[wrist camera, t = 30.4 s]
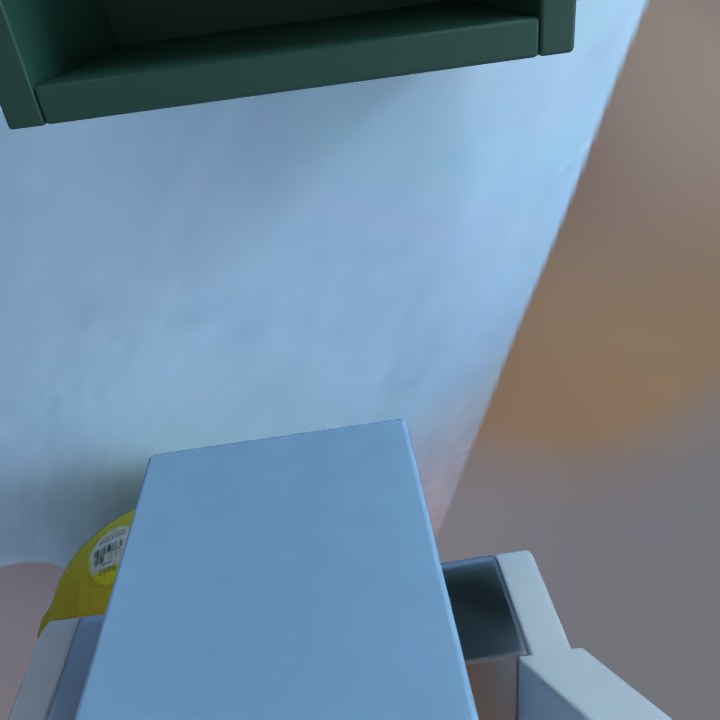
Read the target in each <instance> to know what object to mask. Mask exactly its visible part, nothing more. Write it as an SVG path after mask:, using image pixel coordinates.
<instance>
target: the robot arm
mask: <svg viewBox="0 0 720 720" xmlns="http://www.w3.org/2000/svg"><path fill="white" fill-rule="evenodd" d="M441 567H442V572H443V576H444V580H445V584H446V588H447V592H448V596H449V600H450V604H451V608H452V612H453V616H454V621H455V625H456V629H457V633H458V637H459V641H460V645H461V649H462V653H463V657H464V661H465V666H466V670H467V674H468V678H469V682H470V686H471V690H472V694H473V698H474V702H475V706H476V711H477V715H478V719H479V720H672V719H671V718H670V717H668V716H667V715H666V714H664V713H663V712H662V711H661V710H660V709H658V708H657V707H656V706H655V705H653V704H652V703H651V702H650V701H648V700H647V699H646V698H645V697H643V696H642V695H641V694H640V693H638V692H637V691H636V690H634V689H633V688H632V687H631V686H629V685H628V684H627V683H626V682H624V681H623V680H622V679H621V678H619V677H618V676H617V675H615V674H614V673H613V672H612V671H611V670H609V669H608V668H607V667H606V666H604V665H603V664H602V663H601V662H599V661H598V660H597V659H595V658H594V657H593V656H592V655H590V654H589V653H588V652H587V651H585V650H584V649H583V648H574V649H571V647H570V645H569V643H568V640H567V638H566V635H565V633H564V631H563V628H562V626H561V623H560V621H559V618H558V616H557V613H556V611H555V609H554V606H553V604H552V601H551V599H550V596H549V594H548V592H547V589H546V587H545V584H544V582H543V580H542V577H541V575H540V572H539V570H538V567H537V565H536V563H535V560H534V558H533V555H531V554H530V552H529V551H528V550H526V551H520V552H513V553H506V554H499V555H494V556H492V555H488V556H482V557H476V558H470V559H464V560H457V561H451V562H445V563H441ZM104 615H105V614H101V615H93V616H85V617H78V618H71V619H64V620H57V621H50V622H49V623H48V624H47V626H46V627H45V628H44V629H43V631H42V632H41V633H40V636H39V639H38V641H37V644H36V647H35V649H34V652H33V655H32V657H31V660H30V663H29V665H28V668H27V670H26V673H25V676H24V678H23V681H22V684H21V686H20V689H19V692H18V694H17V697H16V700H15V702H14V705H13V708H12V710H11V713H10V715H9V718H8V720H74V719H75V715H76V712H77V708H78V705H79V701H80V698H81V694H82V691H83V687H84V684H85V681H86V677H87V674H88V670H89V667H90V663H91V660H92V656H93V653H94V649H95V646H96V642H97V639H98V636H99V632H100V629H101V625H102V622H103V618H104Z"/></svg>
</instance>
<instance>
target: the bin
mask: <svg viewBox="0 0 720 720" xmlns="http://www.w3.org/2000/svg"><path fill="white" fill-rule="evenodd" d="M575 12H576V0H0V105H1V108H2V111H3V113H4V116H5V118H6V121H7V124H8V126H9V128H10V129H20V128H27V127H34V126H41V125H44V124H46V123H49V124H54V123H62V122H69V121H76V120H83V119H90V118H98V117H105V116H112V115H119V114H127V113H134V112H141V111H148V110H156V109H163V108H170V107H177V106H185V105H192V104H199V103H206V102H213V101H221V100H228V99H235V98H242V97H250V96H257V95H264V94H271V93H279V92H286V91H293V90H300V89H307V88H315V87H322V86H329V85H336V84H344V83H351V82H358V81H365V80H373V79H380V78H387V77H394V76H402V75H409V74H416V73H423V72H430V71H438V70H445V69H452V68H459V67H467V66H474V65H481V64H488V63H496V62H503V61H510V60H517V59H524V58H532V57H535V56H537V54H538V55H541V56H546V55H553V54H561V53H568V52H571V51H572V50H573V48H574V31H575Z"/></svg>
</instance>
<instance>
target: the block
mask: <svg viewBox="0 0 720 720" xmlns="http://www.w3.org/2000/svg"><path fill="white" fill-rule="evenodd" d="M74 720H479V719H478V715H477V711H476V706H475V702H474V698H473V694H472V690H471V686H470V682H469V678H468V674H467V670H466V666H465V661H464V657H463V653H462V649H461V645H460V641H459V637H458V633H457V629H456V625H455V621H454V616H453V612H452V608H451V604H450V600H449V596H448V592H447V588H446V584H445V580H444V576H443V572H442V567H441V563H440V559H439V555H438V551H437V547H436V543H435V539H434V535H433V531H432V527H431V522H430V518H429V514H428V510H427V506H426V502H425V498H424V494H423V490H422V486H421V482H420V477H419V473H418V469H417V465H416V461H415V457H414V453H413V449H412V445H411V441H410V437H409V432H408V428H407V424H406V422H405V421H404V420H403V419H398V420H391V421H384V422H377V423H370V424H363V425H356V426H349V427H342V428H335V429H328V430H321V431H314V432H307V433H301V434H294V435H287V436H280V437H273V438H266V439H259V440H252V441H245V442H238V443H231V444H224V445H217V446H210V447H204V448H197V449H190V450H183V451H176V452H169V453H162V454H155V455H152V456H151V457H150V459H149V462H148V466H147V469H146V473H145V476H144V480H143V483H142V487H141V490H140V494H139V497H138V501H137V504H136V507H135V511H134V514H133V518H132V521H131V525H130V528H129V532H128V535H127V539H126V542H125V546H124V549H123V552H122V556H121V559H120V563H119V566H118V570H117V573H116V577H115V580H114V584H113V587H112V591H111V594H110V597H109V601H108V604H107V608H106V611H105V615H104V618H103V622H102V625H101V629H100V632H99V636H98V639H97V642H96V646H95V649H94V653H93V656H92V660H91V663H90V667H89V670H88V674H87V677H86V681H85V684H84V687H83V691H82V694H81V698H80V701H79V705H78V708H77V712H76V715H75V719H74Z"/></svg>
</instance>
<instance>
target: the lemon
mask: <svg viewBox="0 0 720 720" xmlns="http://www.w3.org/2000/svg"><path fill="white" fill-rule="evenodd" d="M134 511H135V510H132V511H130V512H128V513H126V514H123V515H122V516H120V517H118V518H117V519H115V520H114V521H112V522H110V523H109V524H107V525H106V526H105V527H104V528H102V529H101V530H100V531H99V532H97V533H96V534H95V535H94V536H93V537H92V538H91V539H90V540H89V541H88V542H87V543H86V544H85V545H84V546H83V547H82V548H81V549H80V550H79V551H78V552H77V553H76V555H75V556H74V558H73V559H72V560H71V562H70V563H69V565H68V566H67V568H66V570H65V572H64V574H63V576H62V577H61V579H60V581H59V583H58V586H57V589H56V592H55V595H54V599H53V601H52V604H51V606H50V608H49V609H48V611H47V612H46V614H45V615H44V617H43V618H42V621H41V624H40V628H39V633H38V639H39V636H40V633H41V632H42V631H43V629H44V628H45V627H46V626H47V624H48V623H49V622H50V621H57V620H64V619H71V618H78V617H85V616H93V615H101V614H105V611H106V608H107V604H108V601H109V597H110V594H111V591H112V587H113V584H114V580H115V577H116V573H117V570H118V566H119V563H120V559H121V556H122V552H123V549H124V546H125V542H126V539H127V535H128V532H129V528H130V525H131V521H132V518H133V514H134Z"/></svg>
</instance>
